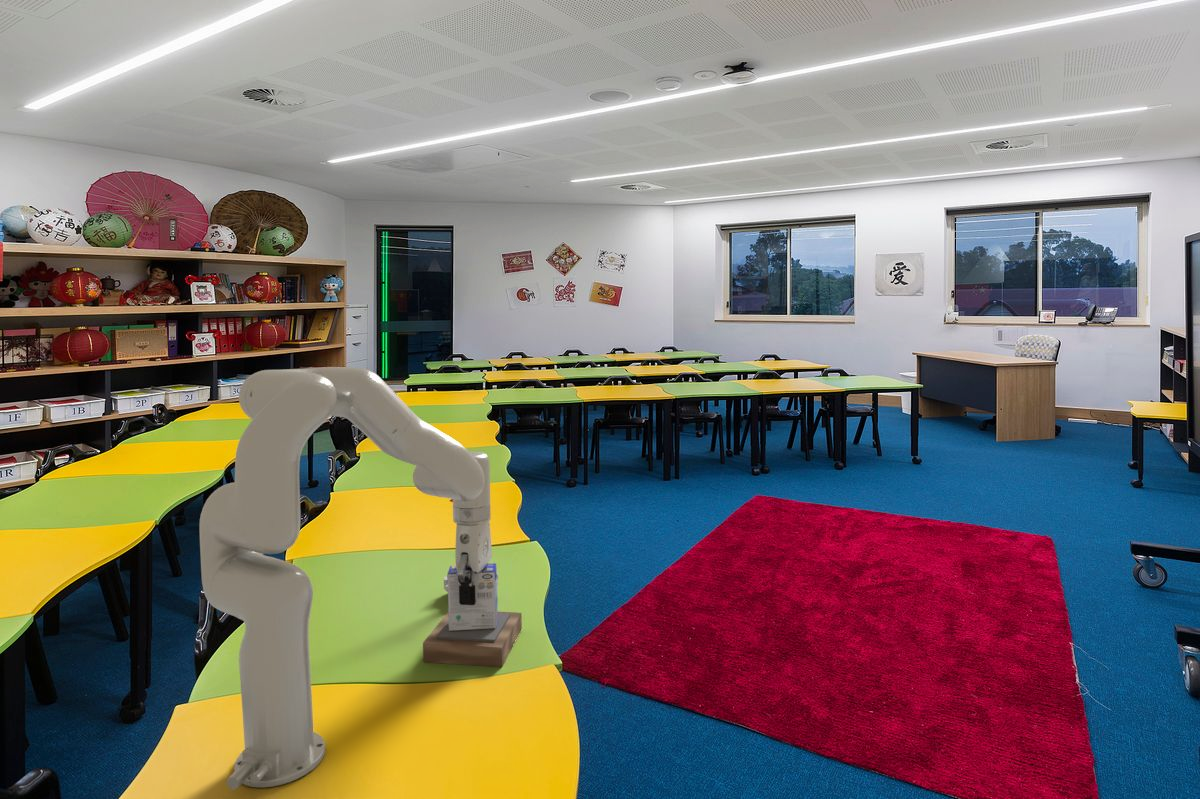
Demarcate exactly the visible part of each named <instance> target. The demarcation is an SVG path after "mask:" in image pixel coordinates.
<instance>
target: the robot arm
mask: <svg viewBox="0 0 1200 799" xmlns="http://www.w3.org/2000/svg"><path fill="white" fill-rule="evenodd" d="M238 402H239V406H240V408H241V410H242V412H243V413H244V414H245V415H246V416H247V417H248V418H249V419H251V421H250V422H249V424H248V425H247V427H246V428H245V429H244V431H243V433H242V435H241V436H240V438H239V440H238V441H239V442H238V444H237V447H236V451H235V458H234V459H235V460H234V463H235V465H234V482H230V483H226V484H223V485H221V486H219V487H217V489H216V490H214V491H213V492H212V493H210V495H209V496H208V498H207V499H206V500H205V503H204V504H203V507H202V510H201V513H200V518H199V525H198V526H199V548H200V549H199V550H200V551H199V552H200V553H199V554H200V572H201V584H202V590H203V593H204V596H205V598H206V600H207V602H208V603H209V604H210V605H211V606H212V607H213V608H215V609H216V610H217V611H218V610H219V611H220V612H222V613H225V614H226V615H230V616H233V617H235V618H237V619H239V620H241V621H243V622H244V624H245V625H244V626H245V630H244V634H243V638H242V640H241V643H240V646H239V653H238V666H239V667H238V668H239V677H240V678H239V679H240V692H241V694H240V695H241V710H242V711H241V712H242V723H243V738H244V739H243V740H244V749H243V750H242V751H241V753H240V754H239V755H238V756H237V757H236V760H235V762H234V767H233V770H234V772H233V773H232V774H231V775H230V776H229V777H228V778H227V779H226V786H227V787H228V788H229V789H230V790H233V791H235V790H238V788H239V787H240V786H241V785H244V786H247V787H250V788H251V787H252V788H262V789H263V788H271V787H277V786H282V785H285V784H289V783H291V782H294V781H295V780H299V778H302V777H303V776H306V775H307V774H308V773H310V772H311V771H313V770H315V768H316V767H317V766H319V764H320V762H322V761H323V759H324V756H325V754H326V742H325V739H324V738H323V736H322V735H320V734H318V733H317V732H314V718H313V700H312V699H313V698H312V697H313V695H312V679H311V678H312V675H311V659H310V638H309V637H310V636H309V633H310V631H309V630H310V618H311V611H312V605H313V600H314V599H313V598H314V589H313V588H314V587H313V583H312V581H311V578H310V577H309V576H308V574H307V573H306V572H305V571H304V570H303V569H302V568H301V567H299V566H297V565H295V564H293V563H291V562H289V561H286V560H282V559H279V558H276V557H273V556H267V555H275V554H280V553H283V552H285V551H287V550H288V549H290V548H292V547H293V546H294V544H295V543H296V541H297V540H298V537H299V534H300V531H301V492H300V491H301V490H300V488H301V487H300V461H301V455H302V451H303V449H304V448H305V445H306V443H307V441H308V440H309V438H310V437H311V436H312V435H313V433H314V432H316V430H318V429H319V428H320V426H322V425H323V424H324V423H325V422H326V421H327V420H328V419H329V418H330V417H339V418H345V419H347V420H348V421H350V422H351V423H352V424H353V425H354V426H355V427H356V428H357V429H358V430H359V431H360V432H362V434H364V435H365V436H366V437H367V438H368V439H369V440H370V441H371V442H372V443H373V444H374V445H376V447H377V448H378V449H380V450H381V452H383V453H385V454H386V455H389V456H390V457H392V458H394V459H396V460H399V461H401V462H404V463H407V464H410V465H413V466H415V467H414V470H413V473H412V481H413V484H414V487H415V488H416V489H417V490H418V491H419V492H420V493H422V494H426V495H429V496H433V497H437V498H438V497H439V498H444V499H445V498H446V499H449V500H451V499H453V502H452V521H453V523H454V524H456V528H455V549H454V550H455V551H454V552H455V555H454V556H455V566H456V569H457V577H458V581H459V583H458V585H459V603H460V604H461V605H475V603H476V597H475V585H473V584H474V576H475V572H476V573H479V572H480V571H481V570H482V569H483V568H484V567H485V566H486V565H487V564H489V562H490V561H491V560H492V556H493V553H492V552H493V551H492V550H493V549H492V535H491V534H492V533H491V523H490V520H491V518H492V515H491V514H492V513H491V476H490V475H491V473H490V471H491V470H490V467H491V466H490V465H491V464H490V458H489V456H488V454H487V453H485V452H483V451H475V450H474V451H472V450H470V451H468V448H466V447H465V446H464V445H462V444H461V443H460V442H458V441H457V440H455V439H454V438H452V437H451V436H449V435H447V434H446V433H444V432H442V431H441V430H439V429H438V428H436V427H434V426H433V425H431V424H430V423H428V422H426V421H424V420H423V419H421V417H419V416H418V415H417V414H416V413H415V412H414V411H413V410H412V409H411V408H410V407H409V406H408V405H407V404H406V403H405V402H404V401H403V400H402V399H401V398H400V396H398V394H396V392H395V391H394V390H393V389H392V388H391V387H390V386H389V385H388V384H387V383H386V382H385V381H384V380H383V379H382V378H381V377H380V376H379V375H378V374H377V373H375V372H373V371H372V370H369V369H367V368H361V367H347V366H346V367H344V366H342V367H341V366H327V367H326V366H323V367H312V368H311V367H307V368H289V369H288V368H287V369H264V370H263V369H262V370H260V371H257V372H254V373H253V374H250V375H249V376H248V377H247V378H246V379H245V380H244V382H243V383H242V384H241V386H240V389H239V391H238ZM467 567H468V568H471V569H472V570H466V568H467ZM466 574H470V579H469V577H468V576H466Z"/></svg>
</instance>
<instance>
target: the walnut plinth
mask: <svg viewBox="0 0 1200 799" xmlns="http://www.w3.org/2000/svg"><path fill="white" fill-rule="evenodd" d="M497 612H498V613H497V617H498V620H497V626H496V628H491V629H473V630H456V631H449V619H448V612H447V613H446V614H445V615H444V617H443V618H441V620H440V621H439V623H437V625H436V626H435V627H434V628H433V630H432V631H431V632H430V633H429V635H427V637H426V638H425V639H424V641H423V642H422V658H423V663H434V664H450V665H462V666H463V665H467V666H478V667H479V666H480V667H496V668H503V667H504V664H505V662H506V661H507V658H508V657H509V655H510V653H511V651H512V650H511V649H513V648H514V646H513V644H514V643H515V644H516V642H515V640H516V639H517V640H518V638H517V637H519V636H520V635H519V633H520V631H521V629H523V627H522V626H523V625H522V623H523V622H522V621H523V620H522V617H523V616H522V614H523V613H522V612H516V611H500V610H497ZM521 632H522V631H521ZM520 634H521V633H520ZM518 635H519V636H518ZM517 640H516V641H517ZM515 644H514V645H515ZM512 647H513V648H512Z"/></svg>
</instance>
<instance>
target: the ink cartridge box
mask: <svg viewBox="0 0 1200 799" xmlns="http://www.w3.org/2000/svg"><path fill="white" fill-rule="evenodd" d="M466 570H472V569H471V568H468V567H467V568H466ZM497 573H498V570H497V563H496V562H493V563H492V562H491V563H488V564H487V565H486V566H485V567H484V568H483V569H482V570H481V571H480V572H479V573H476V572H475V576H474V584H473V585H475V597H476V603H475V605H461V604H460V603H459V585H458V583H459V581H458V577H457V569H456V565H449V569H448V571H447V574H446V576H447V583H448V592H447V608H448V609H447V613H448V619H449V631H456V630H473V629H491V628H496V626H497V620H498V617H497V613H498V612H497V611H498V585H497ZM466 576H468V577H469V579H470V574H466Z"/></svg>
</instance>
